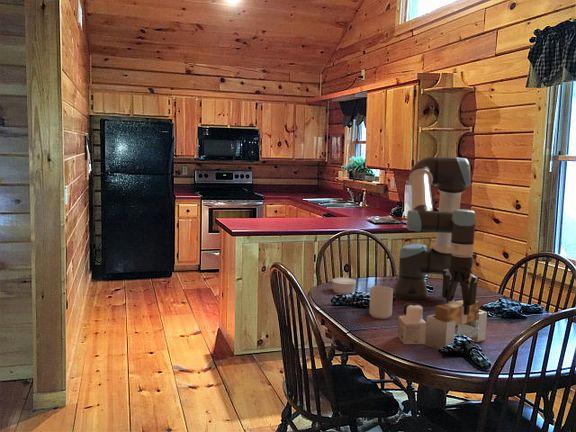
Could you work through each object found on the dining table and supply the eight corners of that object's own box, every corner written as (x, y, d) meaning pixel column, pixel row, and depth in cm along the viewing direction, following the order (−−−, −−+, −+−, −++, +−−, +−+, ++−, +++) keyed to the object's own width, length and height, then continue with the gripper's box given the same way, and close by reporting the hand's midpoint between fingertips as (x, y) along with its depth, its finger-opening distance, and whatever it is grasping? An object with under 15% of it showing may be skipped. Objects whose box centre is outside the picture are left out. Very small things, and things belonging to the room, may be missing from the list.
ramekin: (340, 296, 242) (341, 284, 241) (326, 290, 252) (327, 279, 251) (360, 293, 248) (361, 282, 247) (346, 287, 257) (346, 276, 257)
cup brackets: (464, 332, 197) (466, 305, 196) (485, 339, 191) (487, 312, 189) (425, 344, 185) (426, 316, 183) (445, 352, 178) (446, 322, 176)
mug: (390, 320, 210) (391, 292, 208) (367, 317, 212) (368, 290, 211) (394, 311, 221) (395, 285, 219) (372, 309, 224) (373, 283, 222)
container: (397, 336, 192) (399, 301, 190) (418, 336, 193) (420, 301, 191) (403, 344, 184) (405, 307, 183) (425, 344, 185) (428, 307, 183)
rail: (467, 316, 194) (468, 298, 193) (478, 319, 190) (479, 301, 189) (434, 324, 183) (435, 306, 182) (445, 328, 179) (446, 309, 179)
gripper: (433, 251, 188) (429, 316, 191) (476, 261, 174) (472, 330, 177) (447, 249, 193) (443, 312, 196) (490, 258, 179) (485, 326, 182)
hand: (456, 321), depth 187 cm, fingers closed on rail, 4 cm apart
